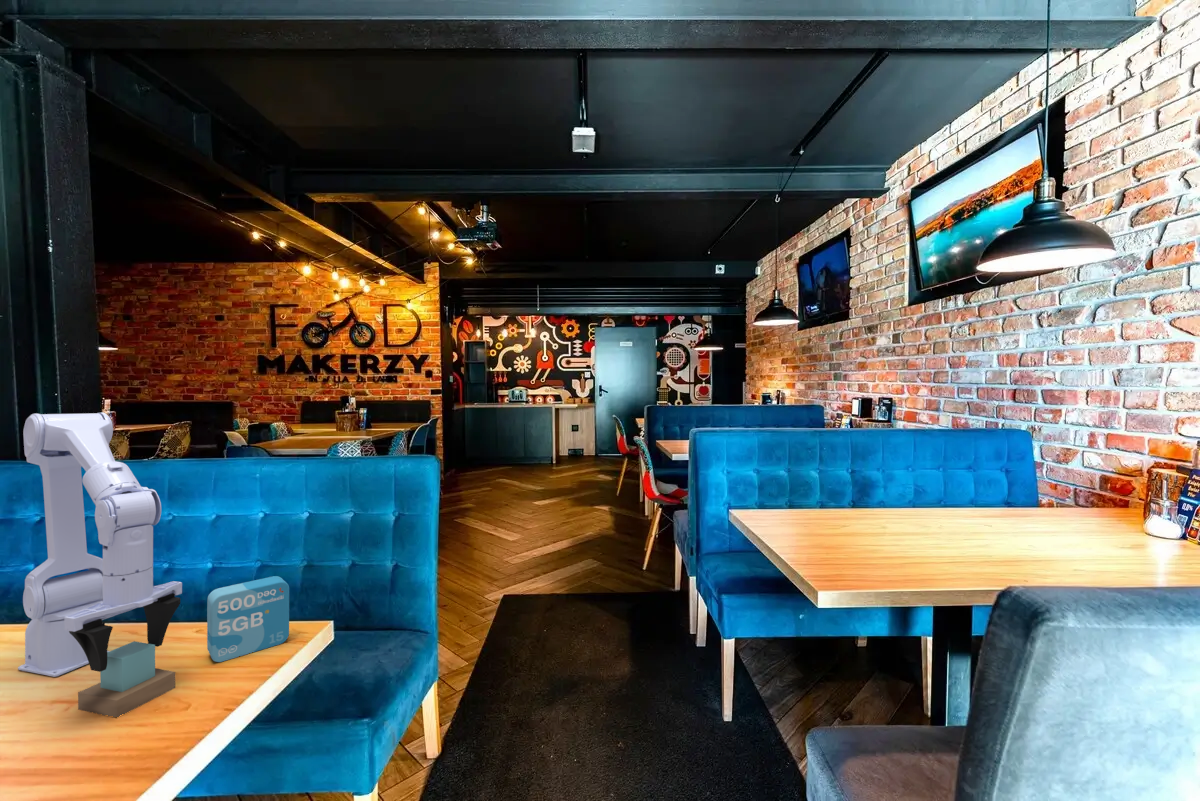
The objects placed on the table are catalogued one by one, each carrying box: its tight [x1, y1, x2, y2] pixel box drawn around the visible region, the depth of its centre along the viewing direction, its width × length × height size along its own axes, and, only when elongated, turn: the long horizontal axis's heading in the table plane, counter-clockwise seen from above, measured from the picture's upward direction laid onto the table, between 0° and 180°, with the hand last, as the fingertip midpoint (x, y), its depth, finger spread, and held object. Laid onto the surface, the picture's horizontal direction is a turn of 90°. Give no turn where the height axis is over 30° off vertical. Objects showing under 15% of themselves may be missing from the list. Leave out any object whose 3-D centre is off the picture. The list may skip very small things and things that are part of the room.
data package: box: [206, 575, 290, 663], centre depth 94 cm, size 12×4×12 cm, turn 136°
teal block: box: [99, 640, 156, 692], centre depth 78 cm, size 4×4×5 cm
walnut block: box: [77, 667, 176, 718], centre depth 78 cm, size 8×8×3 cm
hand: (128, 656), depth 78 cm, fingers open, 7 cm apart
